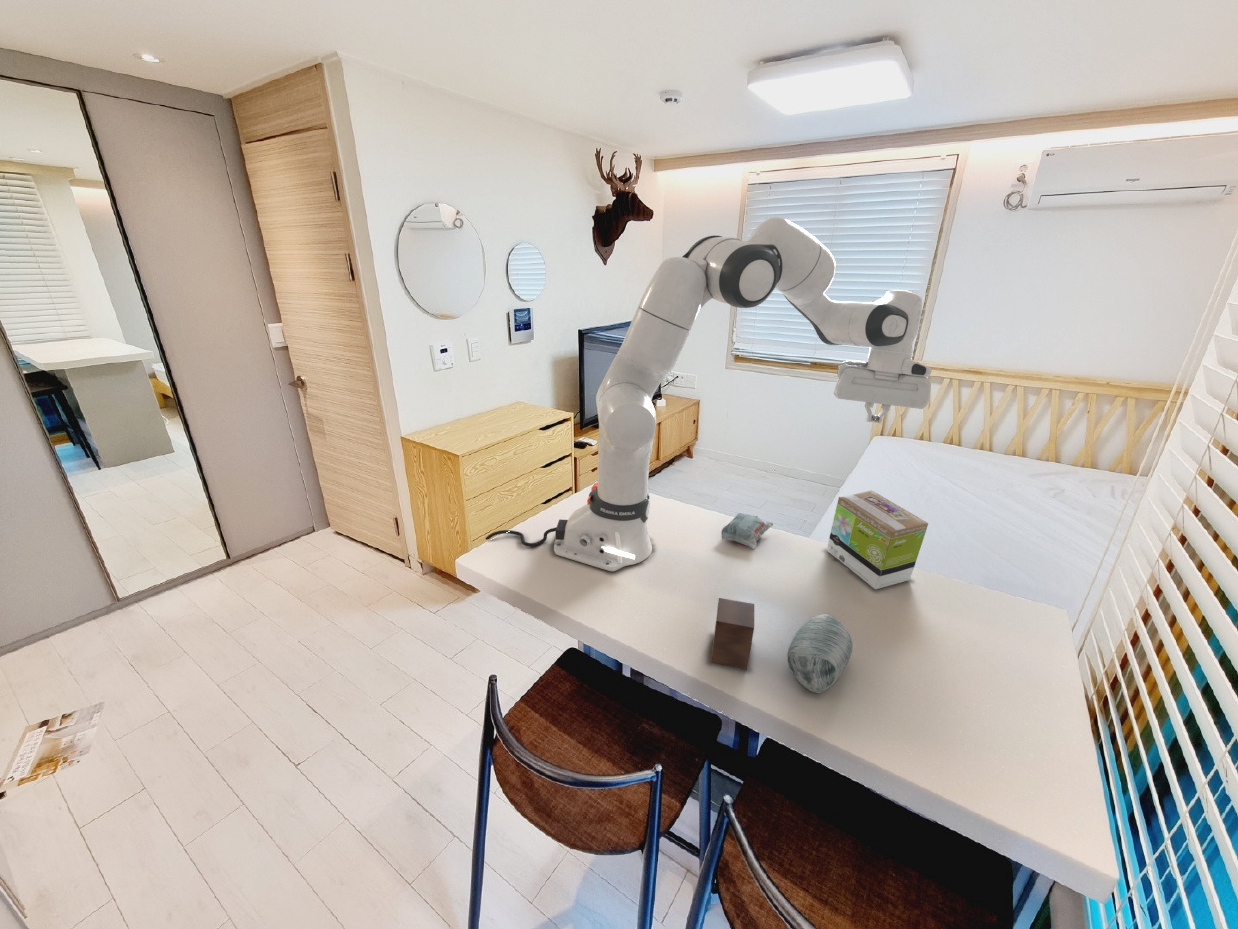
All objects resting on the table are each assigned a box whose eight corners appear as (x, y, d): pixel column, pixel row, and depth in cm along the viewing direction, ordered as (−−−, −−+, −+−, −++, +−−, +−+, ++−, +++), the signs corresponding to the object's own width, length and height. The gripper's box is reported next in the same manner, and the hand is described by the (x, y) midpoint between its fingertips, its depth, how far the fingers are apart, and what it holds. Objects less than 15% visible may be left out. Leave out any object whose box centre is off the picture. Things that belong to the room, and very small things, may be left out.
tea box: (824, 551, 116) (837, 495, 110) (858, 543, 119) (872, 488, 113) (875, 591, 103) (893, 530, 97) (911, 581, 106) (931, 521, 100)
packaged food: (771, 533, 123) (774, 515, 121) (753, 556, 114) (756, 537, 112) (737, 522, 127) (739, 505, 125) (718, 543, 118) (719, 525, 116)
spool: (841, 703, 74) (828, 635, 75) (781, 694, 81) (769, 632, 81) (869, 670, 84) (857, 610, 85) (813, 664, 91) (803, 609, 91)
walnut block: (711, 662, 85) (716, 621, 81) (713, 637, 90) (718, 597, 87) (747, 669, 84) (754, 628, 80) (747, 644, 89) (754, 603, 85)
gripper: (842, 359, 116) (830, 418, 120) (939, 370, 112) (923, 430, 116) (838, 358, 122) (826, 414, 126) (929, 368, 118) (914, 426, 122)
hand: (873, 422), depth 121 cm, fingers closed
